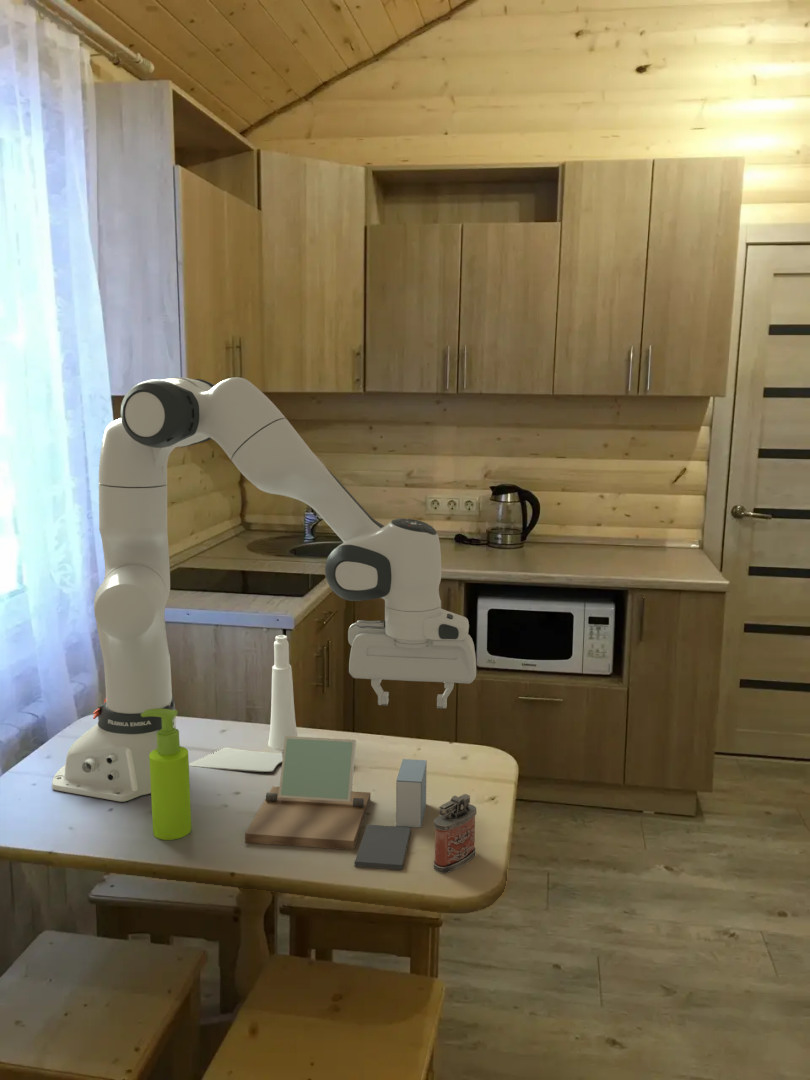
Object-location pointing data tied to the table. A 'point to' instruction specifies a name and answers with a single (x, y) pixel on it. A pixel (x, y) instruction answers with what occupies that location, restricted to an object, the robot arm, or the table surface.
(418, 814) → the grey rectangular prism
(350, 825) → the hinge board
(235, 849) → the table surface
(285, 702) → the cosmetic bottle
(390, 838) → the pad
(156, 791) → the soap dispenser
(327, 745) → the tile
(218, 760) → the kitchen cleaver
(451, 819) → the lighter
